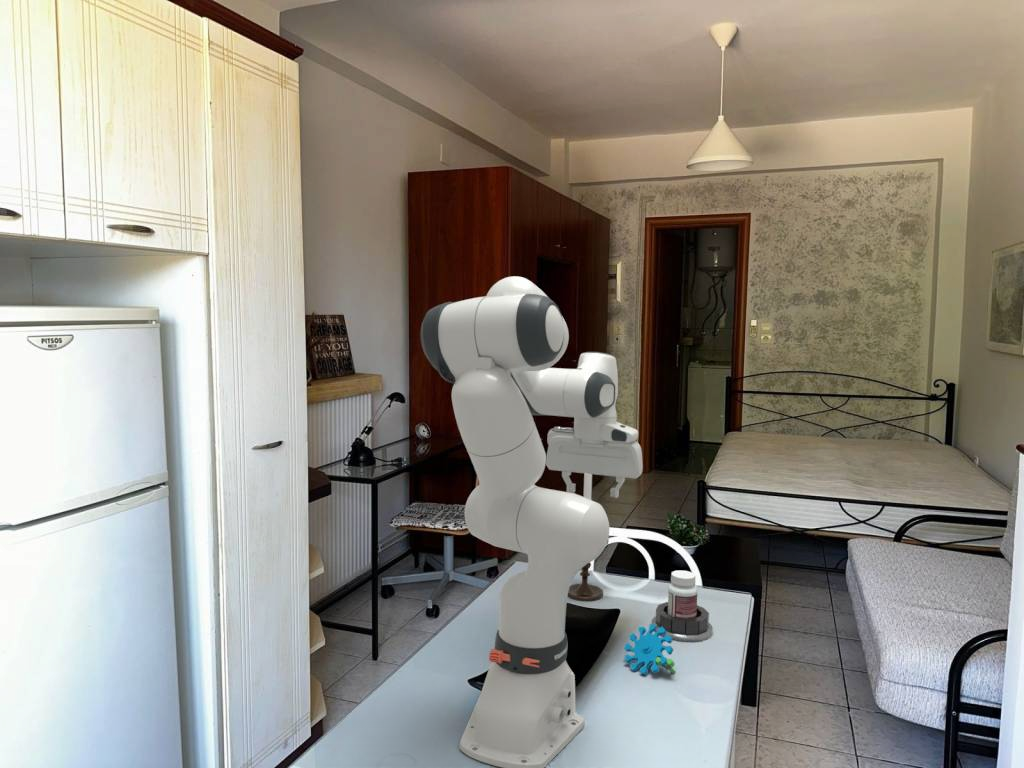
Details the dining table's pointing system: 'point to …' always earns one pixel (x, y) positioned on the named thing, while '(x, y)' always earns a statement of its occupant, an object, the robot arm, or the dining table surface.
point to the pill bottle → (682, 595)
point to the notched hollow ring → (683, 625)
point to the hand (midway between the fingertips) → (592, 494)
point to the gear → (650, 650)
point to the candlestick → (584, 589)
